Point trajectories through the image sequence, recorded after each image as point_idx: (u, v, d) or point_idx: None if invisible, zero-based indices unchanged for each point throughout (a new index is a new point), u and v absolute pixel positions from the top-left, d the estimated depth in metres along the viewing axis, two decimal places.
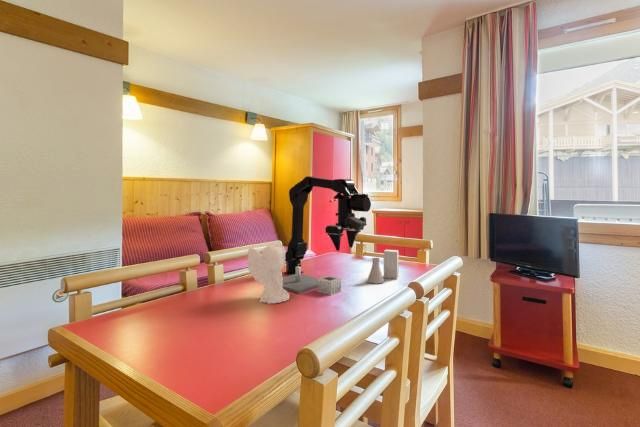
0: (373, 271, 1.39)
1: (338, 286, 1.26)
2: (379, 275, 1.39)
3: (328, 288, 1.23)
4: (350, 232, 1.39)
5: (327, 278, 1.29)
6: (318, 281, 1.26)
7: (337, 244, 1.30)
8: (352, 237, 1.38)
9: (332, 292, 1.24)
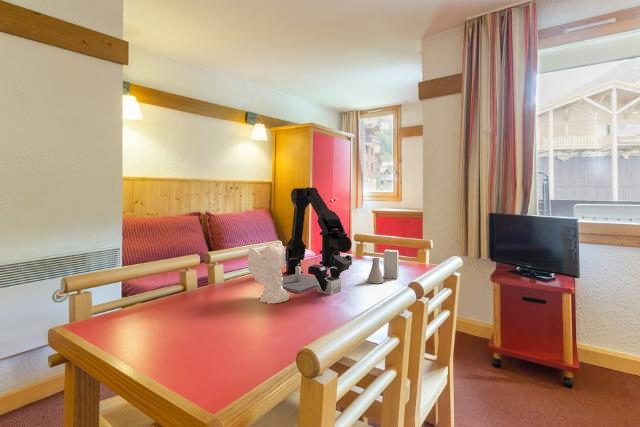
0: (373, 271, 1.39)
1: (338, 286, 1.26)
2: (379, 275, 1.39)
3: (328, 288, 1.23)
4: (334, 270, 1.30)
5: (327, 278, 1.29)
6: None
7: (323, 284, 1.24)
8: (336, 276, 1.29)
9: (332, 292, 1.24)
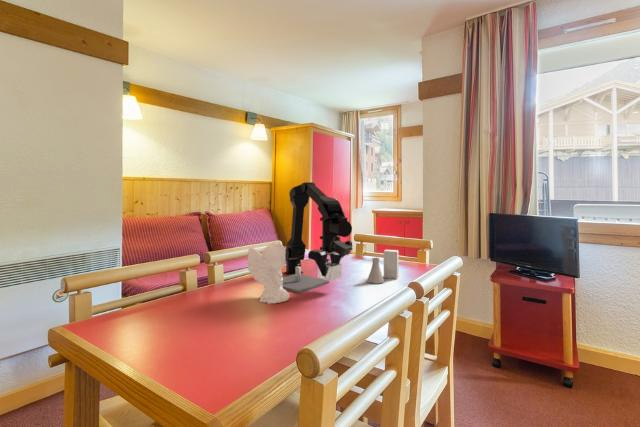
0: (373, 271, 1.39)
1: (338, 272, 1.26)
2: (379, 275, 1.39)
3: (328, 273, 1.23)
4: (334, 256, 1.30)
5: (327, 264, 1.29)
6: (318, 267, 1.26)
7: (323, 269, 1.23)
8: (336, 262, 1.29)
9: (332, 277, 1.23)
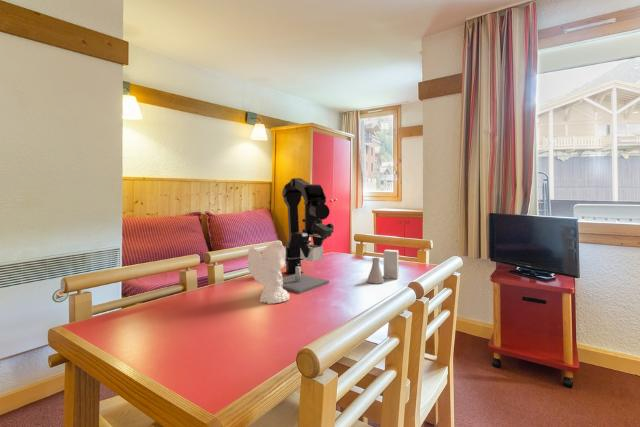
0: (373, 271, 1.39)
1: (320, 253, 1.31)
2: (379, 275, 1.39)
3: (310, 254, 1.28)
4: (316, 239, 1.35)
5: (310, 246, 1.34)
6: None
7: (305, 251, 1.28)
8: (318, 244, 1.34)
9: (314, 258, 1.28)
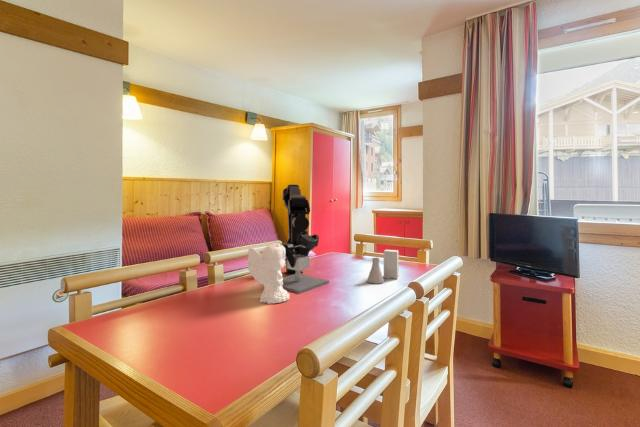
0: (373, 271, 1.39)
1: (306, 263, 1.36)
2: (379, 275, 1.39)
3: (296, 264, 1.33)
4: (303, 249, 1.40)
5: (297, 256, 1.39)
6: None
7: (291, 261, 1.33)
8: (305, 254, 1.39)
9: (300, 268, 1.33)
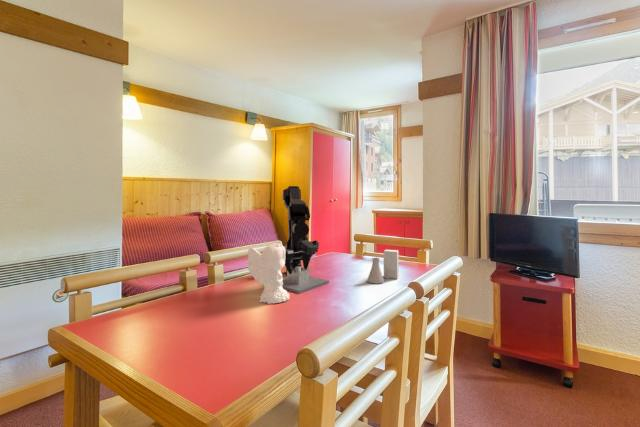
0: (373, 271, 1.39)
1: (306, 276, 1.36)
2: (379, 275, 1.39)
3: (296, 278, 1.33)
4: (305, 254, 1.41)
5: None
6: (287, 272, 1.36)
7: (289, 268, 1.32)
8: (306, 259, 1.40)
9: (300, 281, 1.34)
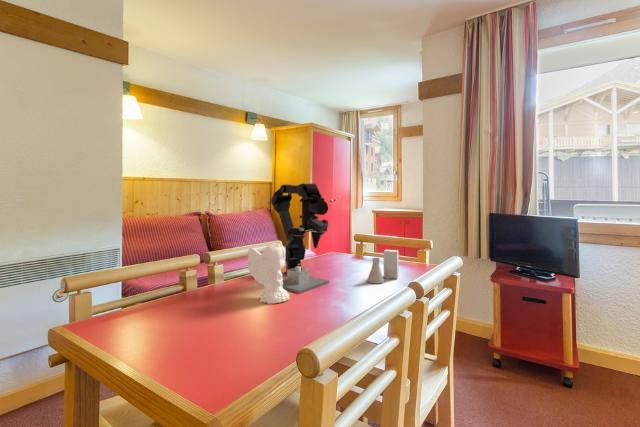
0: (373, 271, 1.39)
1: (306, 276, 1.36)
2: (379, 275, 1.39)
3: (296, 278, 1.33)
4: (315, 233, 1.47)
5: None
6: (287, 272, 1.36)
7: (300, 245, 1.38)
8: (316, 238, 1.46)
9: (300, 281, 1.34)
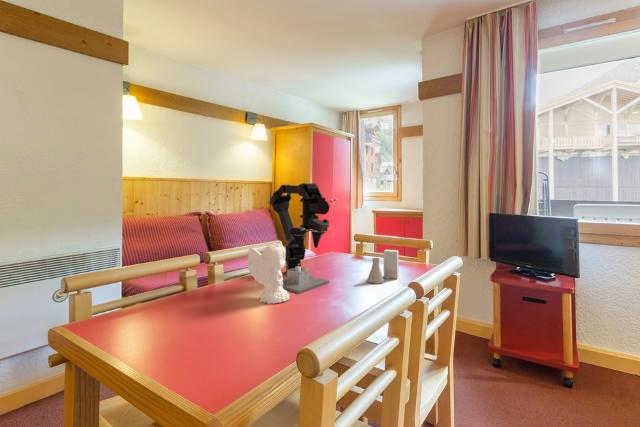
0: (373, 271, 1.39)
1: (306, 276, 1.36)
2: (379, 275, 1.38)
3: (296, 278, 1.33)
4: (315, 233, 1.47)
5: None
6: (287, 272, 1.36)
7: (301, 245, 1.38)
8: (317, 238, 1.46)
9: (300, 281, 1.34)
